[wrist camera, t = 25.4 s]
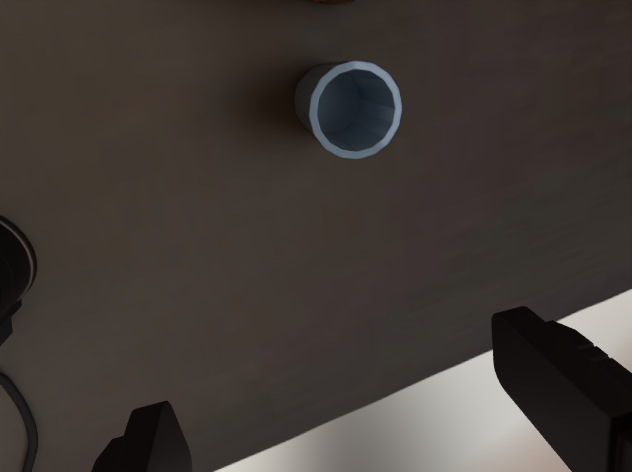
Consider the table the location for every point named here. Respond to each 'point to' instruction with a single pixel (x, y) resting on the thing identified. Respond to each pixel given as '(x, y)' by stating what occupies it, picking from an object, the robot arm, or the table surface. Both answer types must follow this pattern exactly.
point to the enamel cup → (349, 107)
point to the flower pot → (333, 1)
